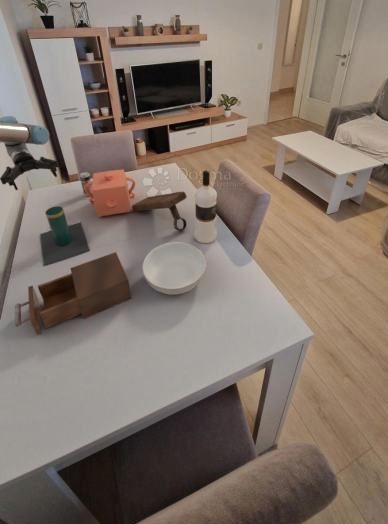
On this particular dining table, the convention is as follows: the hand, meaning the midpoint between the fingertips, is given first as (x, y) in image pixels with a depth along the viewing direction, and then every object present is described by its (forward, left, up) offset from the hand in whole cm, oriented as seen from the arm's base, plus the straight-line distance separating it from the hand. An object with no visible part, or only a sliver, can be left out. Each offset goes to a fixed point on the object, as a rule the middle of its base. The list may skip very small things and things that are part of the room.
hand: (36, 180), depth 101 cm
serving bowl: (+45, +34, -27) cm, 62 cm away
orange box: (-5, +26, -27) cm, 38 cm away
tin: (+7, +3, -26) cm, 27 cm away
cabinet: (+39, +11, -26) cm, 48 cm away
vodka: (+32, +54, -27) cm, 68 cm away
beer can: (-26, +19, -27) cm, 42 cm away
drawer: (+39, -4, -25) cm, 46 cm away
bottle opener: (+11, +43, -27) cm, 51 cm away
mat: (+7, +3, -26) cm, 27 cm away
